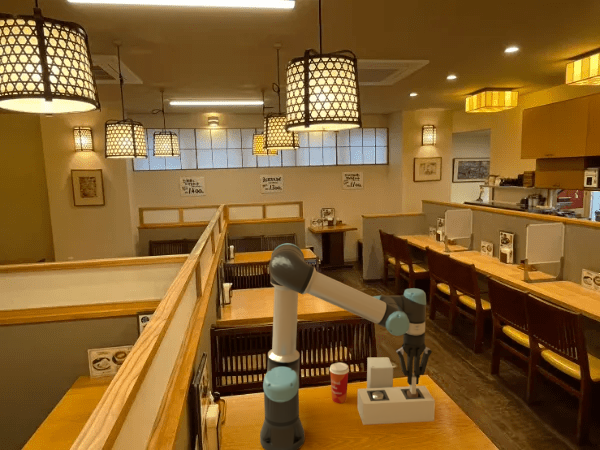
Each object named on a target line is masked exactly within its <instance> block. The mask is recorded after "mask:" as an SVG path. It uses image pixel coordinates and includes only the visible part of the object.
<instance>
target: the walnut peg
mask: <svg viewBox="0 0 600 450" xmlns="http://www.w3.org/2000/svg"><path fill="white" fill-rule="evenodd" d="M407 397H408V398H415V397H418V392H417V391H416V394H412V393H411V392H410V390H408V391H407Z"/></svg>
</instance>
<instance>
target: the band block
mask: <svg viewBox="0 0 600 450" xmlns="http://www.w3.org/2000/svg"><path fill="white" fill-rule="evenodd" d="M408 390H410V385H408V386H393V387H388V388H367V387H366V388H357V411H358V413H359V414H358V415H359V416H360V420H361V422H362V426H364V425H383V424H385V425H386V424H387V425H388V424H401V423H421V422H435V410H436V409H435V406H436V400H435V398H434V396H432V394H431V393H430V391H429V389H428V388H427V386H426V385H416V391H417V392H418V397H415V398H408V397H407V391H408ZM376 391H378V392H381V393H383V399H374V400H373V399H372V393H373V392H376Z"/></svg>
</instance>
